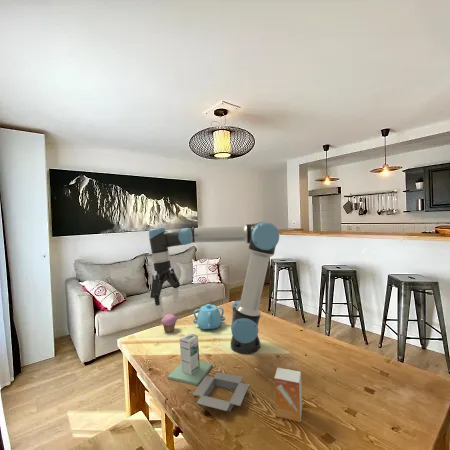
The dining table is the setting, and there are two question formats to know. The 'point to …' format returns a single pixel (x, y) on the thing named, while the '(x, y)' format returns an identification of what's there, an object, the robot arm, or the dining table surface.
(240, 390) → the grey open box frame
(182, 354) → the syrup box
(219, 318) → the decorative pot
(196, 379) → the mat
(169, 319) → the cupcake
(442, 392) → the dining table surface
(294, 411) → the small box
